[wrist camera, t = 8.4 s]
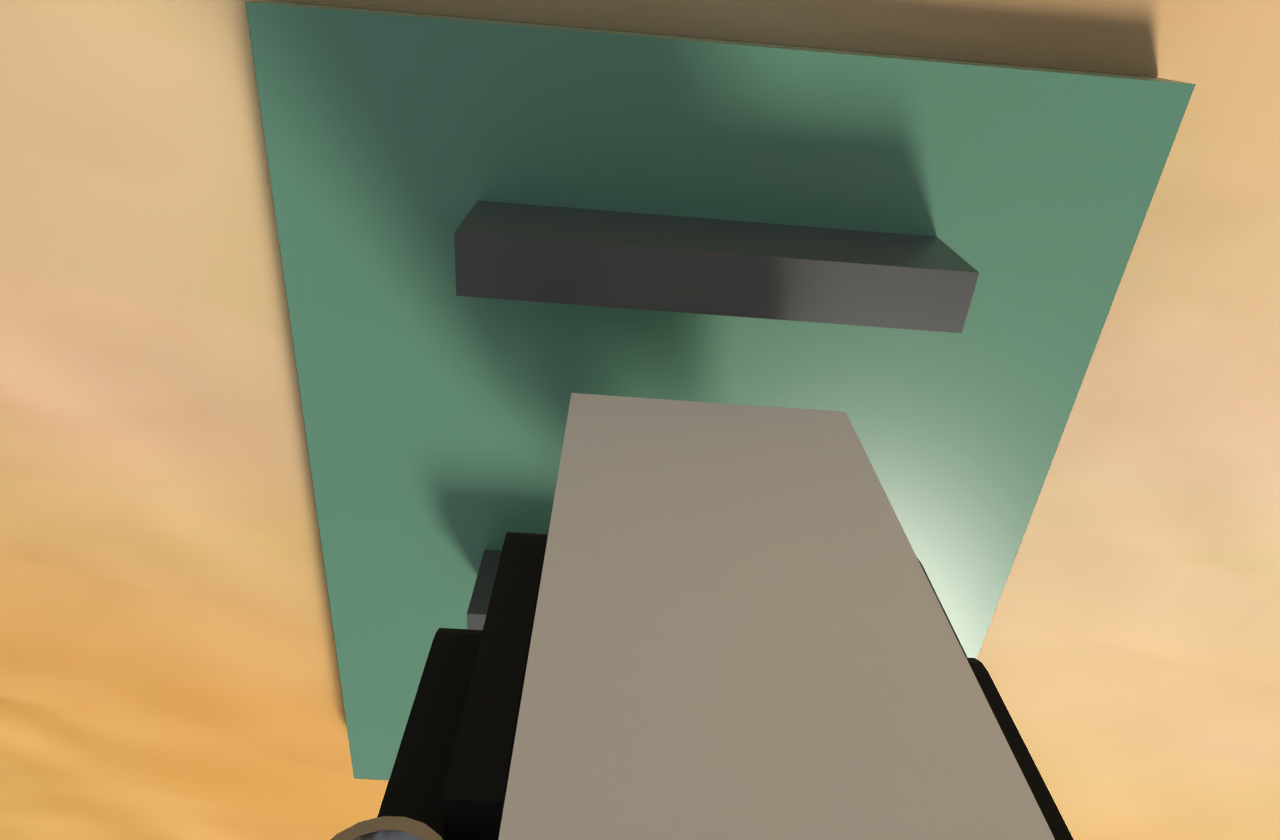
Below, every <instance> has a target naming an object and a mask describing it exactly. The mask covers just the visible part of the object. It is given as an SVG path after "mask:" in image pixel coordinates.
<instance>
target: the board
mask: <svg viewBox="0 0 1280 840" xmlns="http://www.w3.org/2000/svg"><path fill="white" fill-rule="evenodd" d="M246 9H247V16H248V24H249V31H250V38H251V45H252V52H253V59H254V66H255V74H256V81H257V88H258V95H259V102H260V109H261V116H262V124H263V131H264V138H265V145H266V152H267V159H268V166H269V174H270V181H271V188H272V195H273V202H274V209H275V217H276V224H277V231H278V238H279V245H280V252H281V259H282V267H283V274H284V281H285V288H286V295H287V302H288V309H289V317H290V324H291V331H292V338H293V345H294V352H295V359H296V367H297V374H298V381H299V388H300V395H301V402H302V409H303V417H304V424H305V431H306V438H307V445H308V452H309V460H310V467H311V474H312V481H313V488H314V495H315V502H316V510H317V517H318V524H319V531H320V538H321V545H322V552H323V560H324V567H325V574H326V581H327V588H328V595H329V602H330V610H331V617H332V624H333V631H334V638H335V645H336V653H337V660H338V667H339V674H340V681H341V688H342V695H343V703H344V710H345V717H346V724H347V731H348V738H349V745H350V753H351V760H352V767H353V774H354V778H355V779H374V780H389V779H390V776H391V773H392V769H393V766H394V763H395V760H396V757H397V753H398V750H399V747H400V744H401V741H402V737H403V734H404V731H405V728H406V725H407V721H408V718H409V715H410V712H411V709H412V705H413V702H414V699H415V696H416V693H417V689H418V686H419V683H420V680H421V677H422V673H423V670H424V667H425V664H426V661H427V657H428V654H429V651H430V648H431V645H432V641H433V639H434V636H435V634H436V632H437V630H438V629H439V628H454V629H471V630H483V627H484V623H485V619H486V614H487V610H488V606H489V602H490V598H491V594H492V589H493V585H494V581H495V577H496V573H497V569H498V564H499V560H500V556H501V552H502V548H503V544H504V539H505V536H506V533H507V532H519V533H535V534H547V535H548V533H549V527H550V521H551V515H552V508H553V502H554V496H555V490H556V484H557V478H558V472H559V466H560V460H561V453H562V447H563V441H564V435H565V429H566V423H567V417H568V411H569V404H570V398H571V393H580V394H595V395H609V396H624V397H639V398H653V399H668V400H682V401H697V402H711V403H726V404H740V405H755V406H769V407H784V408H799V409H813V410H828V411H842V412H846V413H847V415H848V417H849V420H850V422H851V424H852V426H853V428H854V430H855V432H856V434H857V436H858V438H859V440H860V442H861V444H862V446H863V448H864V450H865V452H866V454H867V456H868V458H869V460H870V462H871V464H872V467H873V469H874V471H875V473H876V475H877V477H878V479H879V481H880V483H881V485H882V487H883V489H884V491H885V493H886V495H887V497H888V499H889V501H890V503H891V505H892V507H893V509H894V511H895V514H896V516H897V518H898V520H899V522H900V524H901V526H902V528H903V530H904V532H905V534H906V536H907V538H908V540H909V542H910V544H911V546H912V548H913V550H914V552H915V554H916V556H917V558H918V559H919V561H920V562H921V563H922V565H923V567H924V569H925V572H926V574H927V576H928V578H929V580H930V582H931V584H932V586H933V588H934V590H935V592H936V594H937V596H938V598H939V600H940V602H941V604H942V606H943V608H944V610H945V612H946V614H947V616H948V618H949V620H950V623H951V625H952V627H953V629H954V631H955V633H956V635H957V637H958V639H959V641H960V643H961V645H962V647H963V649H964V651H965V653H966V655H967V657H968V658H976V659H977V657H978V654H979V652H980V649H981V646H982V644H983V641H984V638H985V636H986V633H987V631H988V628H989V625H990V623H991V620H992V617H993V615H994V612H995V610H996V607H997V604H998V602H999V599H1000V596H1001V594H1002V591H1003V589H1004V586H1005V583H1006V581H1007V578H1008V575H1009V573H1010V570H1011V567H1012V565H1013V562H1014V560H1015V557H1016V554H1017V552H1018V549H1019V546H1020V544H1021V541H1022V539H1023V536H1024V533H1025V531H1026V528H1027V525H1028V523H1029V520H1030V518H1031V515H1032V512H1033V510H1034V507H1035V504H1036V502H1037V499H1038V497H1039V494H1040V491H1041V489H1042V486H1043V483H1044V481H1045V478H1046V476H1047V473H1048V470H1049V468H1050V465H1051V462H1052V460H1053V457H1054V454H1055V452H1056V449H1057V447H1058V444H1059V441H1060V439H1061V436H1062V433H1063V431H1064V428H1065V426H1066V423H1067V420H1068V418H1069V415H1070V412H1071V410H1072V407H1073V405H1074V402H1075V399H1076V397H1077V394H1078V391H1079V389H1080V386H1081V384H1082V381H1083V378H1084V376H1085V373H1086V370H1087V368H1088V365H1089V363H1090V360H1091V357H1092V355H1093V352H1094V349H1095V347H1096V344H1097V341H1098V339H1099V336H1100V334H1101V331H1102V328H1103V326H1104V323H1105V320H1106V318H1107V315H1108V313H1109V310H1110V307H1111V305H1112V302H1113V299H1114V297H1115V294H1116V292H1117V289H1118V286H1119V284H1120V281H1121V278H1122V276H1123V273H1124V271H1125V268H1126V265H1127V263H1128V260H1129V257H1130V255H1131V252H1132V250H1133V247H1134V244H1135V242H1136V239H1137V236H1138V234H1139V231H1140V228H1141V226H1142V223H1143V221H1144V218H1145V215H1146V213H1147V210H1148V207H1149V205H1150V202H1151V200H1152V197H1153V194H1154V192H1155V189H1156V186H1157V184H1158V181H1159V179H1160V176H1161V173H1162V171H1163V168H1164V165H1165V163H1166V160H1167V158H1168V155H1169V152H1170V150H1171V147H1172V144H1173V142H1174V139H1175V137H1176V134H1177V131H1178V129H1179V126H1180V123H1181V121H1182V118H1183V115H1184V113H1185V110H1186V108H1187V105H1188V102H1189V100H1190V97H1191V94H1192V92H1193V89H1194V87H1195V84H1190V83H1184V82H1178V81H1173V80H1167V79H1162V78H1152V77H1141V76H1129V75H1118V74H1106V73H1095V72H1083V71H1072V70H1060V69H1049V68H1037V67H1026V66H1014V65H1003V64H991V63H980V62H968V61H957V60H945V59H934V58H922V57H911V56H899V55H888V54H876V53H865V52H853V51H842V50H830V49H818V48H807V47H795V46H784V45H772V44H761V43H749V42H738V41H726V40H715V39H703V38H692V37H680V36H669V35H657V34H646V33H634V32H623V31H611V30H600V29H588V28H577V27H565V26H554V25H542V24H531V23H519V22H508V21H496V20H485V19H473V18H462V17H450V16H439V15H427V14H416V13H404V12H393V11H381V10H370V9H358V8H347V7H335V6H324V5H312V4H301V3H289V2H278V1H261V2H246Z"/></svg>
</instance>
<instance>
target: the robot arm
mask: <svg viewBox="0 0 1280 840" xmlns="http://www.w3.org/2000/svg"><path fill="white" fill-rule="evenodd" d="M547 539H548V535H547V534H535V533H519V532H507V533H506V536H505V539H504V544H503V548H502V552H501V556H500V560H499V564H498V569H497V573H496V577H495V581H494V585H493V589H492V594H491V598H490V602H489V606H488V610H487V614H486V619H485V623H484V627H483V630H471V629H454V628H439V629H438V630H437V632H436V634H435V636H434V639H433V641H432V645H431V648H430V651H429V654H428V657H427V661H426V664H425V667H424V670H423V673H422V677H421V680H420V683H419V686H418V689H417V693H416V696H415V699H414V702H413V705H412V709H411V712H410V715H409V718H408V721H407V725H406V728H405V731H404V734H403V737H402V741H401V744H400V747H399V750H398V753H397V757H396V760H395V763H394V766H393V769H392V773H391V776H390V779H389V782H388V785H387V789H386V792H385V795H384V798H383V801H382V805H381V808H380V811H379V814H378V817H377V818H374V819H370V820H366V821H362V822H359V823H357V824H355V825H353V826H351V827H349V828H347V829H345V830H344V831H342V832H340V833H338V834H336V835H335V836H334V837H333V838H332V839H331V840H498V839H499V833H500V827H501V820H502V814H503V808H504V802H505V796H506V790H507V784H508V778H509V772H510V765H511V759H512V753H513V747H514V741H515V735H516V729H517V723H518V716H519V710H520V704H521V698H522V692H523V686H524V680H525V674H526V668H527V661H528V655H529V649H530V643H531V637H532V631H533V625H534V619H535V612H536V606H537V600H538V594H539V588H540V582H541V576H542V570H543V564H544V557H545V551H546V545H547ZM918 561H919V559H918ZM919 563H920V565H921V567H922V569H923V571H924V573H925V575H926V577H927V579H928V581H929V583H930V585H931V587H932V589H933V591H934V593H935V595H936V597H937V599H938V601H939V603H940V605H941V608H942V610H943V612H944V614H945V616H946V618H947V620H948V622H949V624H950V626H951V628H952V630H953V632H954V634H955V636H956V638H957V640H958V642H959V644H960V646H961V648H962V650H963V652H964V655H965V657H966V659H967V661H968V663H969V665H970V667H971V669H972V671H973V673H974V675H975V677H976V679H977V681H978V683H979V685H980V687H981V689H982V691H983V693H984V695H985V697H986V699H987V702H988V704H989V706H990V708H991V710H992V712H993V714H994V716H995V718H996V720H997V722H998V724H999V726H1000V728H1001V730H1002V732H1003V734H1004V736H1005V738H1006V740H1007V742H1008V744H1009V746H1010V749H1011V751H1012V753H1013V755H1014V757H1015V759H1016V761H1017V763H1018V765H1019V767H1020V769H1021V771H1022V773H1023V775H1024V777H1025V779H1026V781H1027V783H1028V785H1029V787H1030V789H1031V791H1032V793H1033V796H1034V798H1035V800H1036V802H1037V804H1038V806H1039V808H1040V810H1041V812H1042V814H1043V816H1044V818H1045V820H1046V822H1047V824H1048V826H1049V828H1050V830H1051V832H1052V834H1053V836H1054V838H1055V840H1073V838H1072V836H1071V834H1070V832H1069V830H1068V828H1067V826H1066V824H1065V822H1064V820H1063V818H1062V816H1061V814H1060V812H1059V810H1058V808H1057V806H1056V804H1055V802H1054V800H1053V798H1052V796H1051V794H1050V792H1049V791H1048V789H1047V787H1046V785H1045V783H1044V781H1043V779H1042V777H1041V775H1040V773H1039V771H1038V769H1037V767H1036V765H1035V763H1034V761H1033V759H1032V757H1031V755H1030V753H1029V751H1028V749H1027V747H1026V745H1025V743H1024V741H1023V739H1022V738H1021V736H1020V734H1019V732H1018V730H1017V728H1016V726H1015V724H1014V722H1013V720H1012V718H1011V716H1010V714H1009V712H1008V710H1007V708H1006V706H1005V704H1004V702H1003V700H1002V698H1001V696H1000V694H999V692H998V690H997V688H996V686H995V685H994V683H993V681H992V679H991V677H990V675H989V673H988V671H987V670H986V668H985V667H984V665H983V664H982V663H981V662H980V661H978V660H977V659H976V658H968V657H967V655H966V653H965V651H964V649H963V647H962V645H961V643H960V641H959V639H958V637H957V635H956V633H955V631H954V629H953V627H952V625H951V623H950V620H949V618H948V616H947V614H946V612H945V610H944V608H943V606H942V604H941V602H940V600H939V598H938V596H937V594H936V592H935V590H934V588H933V586H932V584H931V582H930V580H929V578H928V576H927V574H926V572H925V569H924V567H923V565H922V563H921V562H920V561H919Z"/></svg>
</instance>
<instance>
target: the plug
mask: <svg viewBox="0 0 1280 840" xmlns="http://www.w3.org/2000/svg"><path fill="white" fill-rule="evenodd" d="M498 840H1055V838H1054V836H1053V834H1052V832H1051V830H1050V828H1049V826H1048V824H1047V822H1046V820H1045V818H1044V816H1043V814H1042V812H1041V810H1040V808H1039V806H1038V804H1037V802H1036V800H1035V798H1034V796H1033V793H1032V791H1031V789H1030V787H1029V785H1028V783H1027V781H1026V779H1025V777H1024V775H1023V773H1022V771H1021V769H1020V767H1019V765H1018V763H1017V761H1016V759H1015V757H1014V755H1013V753H1012V751H1011V749H1010V746H1009V744H1008V742H1007V740H1006V738H1005V736H1004V734H1003V732H1002V730H1001V728H1000V726H999V724H998V722H997V720H996V718H995V716H994V714H993V712H992V710H991V708H990V706H989V704H988V702H987V699H986V697H985V695H984V693H983V691H982V689H981V687H980V685H979V683H978V681H977V679H976V677H975V675H974V673H973V671H972V669H971V667H970V665H969V663H968V661H967V659H966V657H965V655H964V652H963V650H962V648H961V646H960V644H959V642H958V640H957V638H956V636H955V634H954V632H953V630H952V628H951V626H950V624H949V622H948V620H947V618H946V616H945V614H944V612H943V610H942V608H941V605H940V603H939V601H938V599H937V597H936V595H935V593H934V591H933V589H932V587H931V585H930V583H929V581H928V579H927V577H926V575H925V573H924V571H923V569H922V567H921V565H920V563H919V561H918V558H917V556H916V554H915V552H914V550H913V548H912V546H911V544H910V542H909V540H908V538H907V536H906V534H905V532H904V530H903V528H902V526H901V524H900V522H899V520H898V518H897V516H896V514H895V511H894V509H893V507H892V505H891V503H890V501H889V499H888V497H887V495H886V493H885V491H884V489H883V487H882V485H881V483H880V481H879V479H878V477H877V475H876V473H875V471H874V469H873V467H872V464H871V462H870V460H869V458H868V456H867V454H866V452H865V450H864V448H863V446H862V444H861V442H860V440H859V438H858V436H857V434H856V432H855V430H854V428H853V426H852V424H851V422H850V420H849V417H848V415H847V413H846V412H842V411H828V410H813V409H799V408H784V407H769V406H755V405H740V404H726V403H711V402H697V401H682V400H668V399H653V398H639V397H624V396H609V395H595V394H580V393H571V398H570V404H569V411H568V417H567V423H566V429H565V435H564V441H563V447H562V453H561V460H560V466H559V472H558V478H557V484H556V490H555V496H554V502H553V508H552V515H551V521H550V527H549V533H548V539H547V545H546V551H545V557H544V564H543V570H542V576H541V582H540V588H539V594H538V600H537V606H536V612H535V619H534V625H533V631H532V637H531V643H530V649H529V655H528V661H527V668H526V674H525V680H524V686H523V692H522V698H521V704H520V710H519V716H518V723H517V729H516V735H515V741H514V747H513V753H512V759H511V765H510V772H509V778H508V784H507V790H506V796H505V802H504V808H503V814H502V820H501V827H500V833H499V839H498Z"/></svg>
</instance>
